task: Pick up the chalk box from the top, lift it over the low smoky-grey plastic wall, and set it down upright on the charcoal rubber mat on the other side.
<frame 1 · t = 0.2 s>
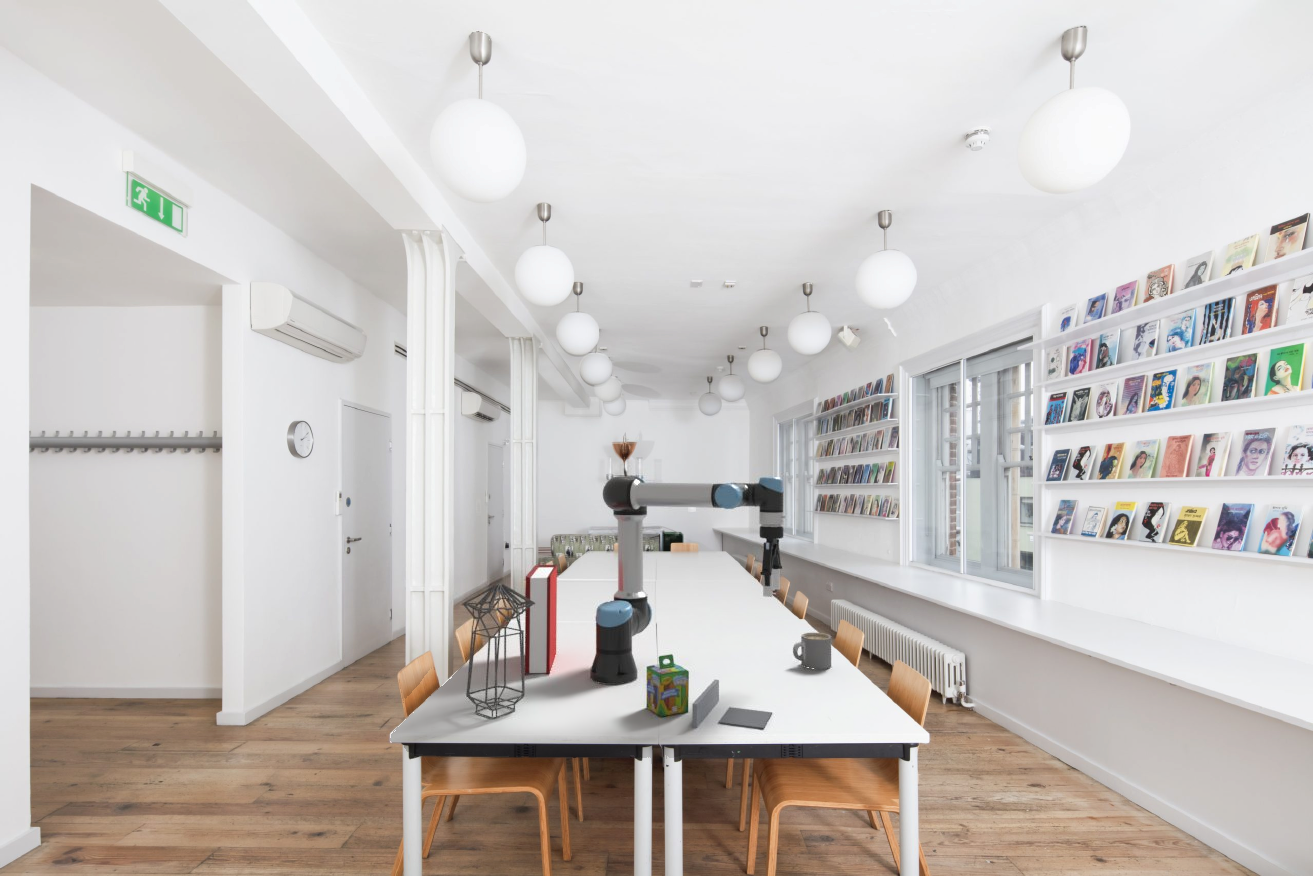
hand: (771, 592, 214), 28 cm above the table, tool pointing down, fingers open, 13 cm apart
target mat: (745, 718, 181), on the table
coffee mug: (811, 666, 231), on the table
low wall: (706, 713, 185), on the table
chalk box: (667, 710, 188), on the table
geometric lantern: (497, 711, 187), on the table
book: (541, 664, 233), on the table
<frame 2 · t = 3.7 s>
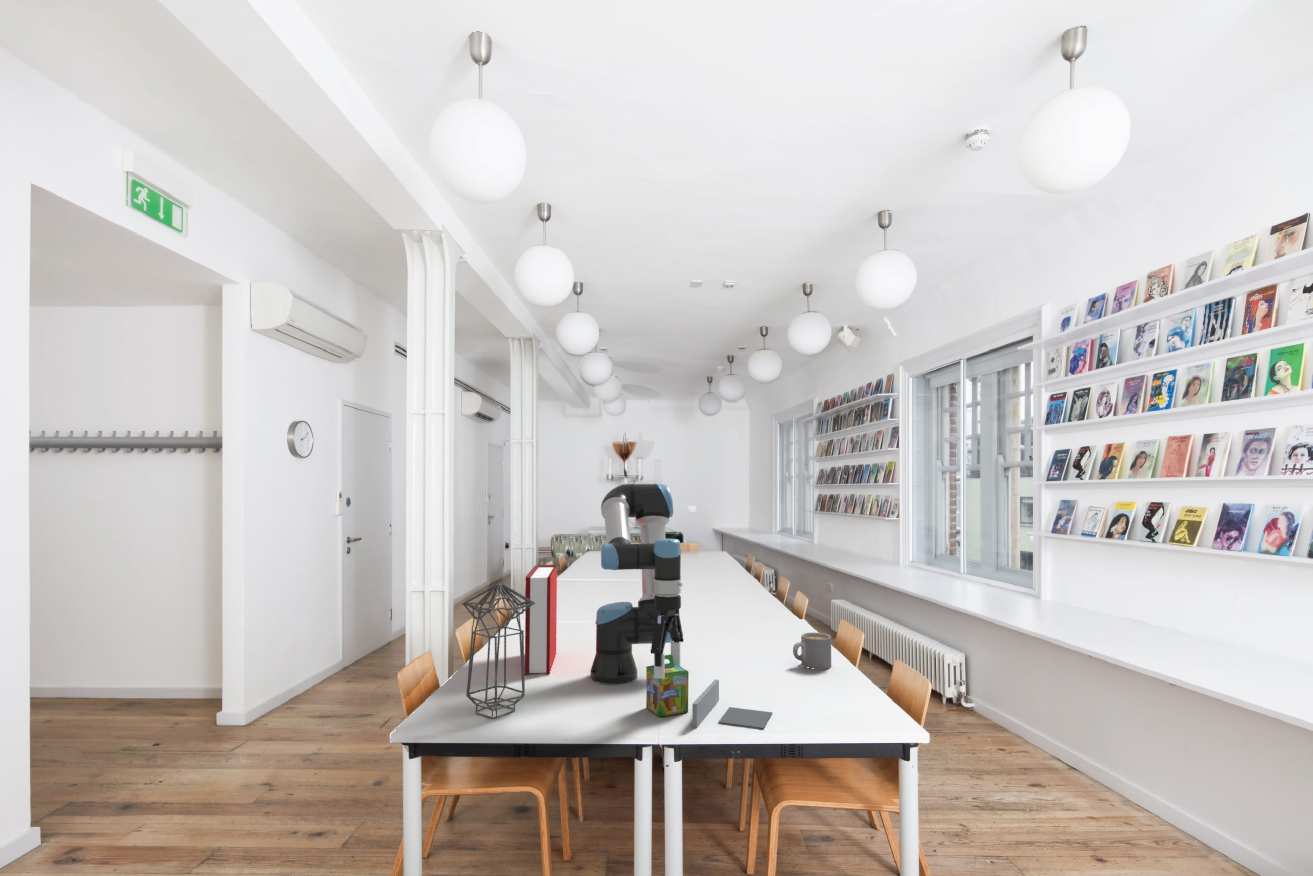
hand: (667, 672, 188), 11 cm above the table, tool pointing down, fingers open, 13 cm apart
nothing on the table moved.
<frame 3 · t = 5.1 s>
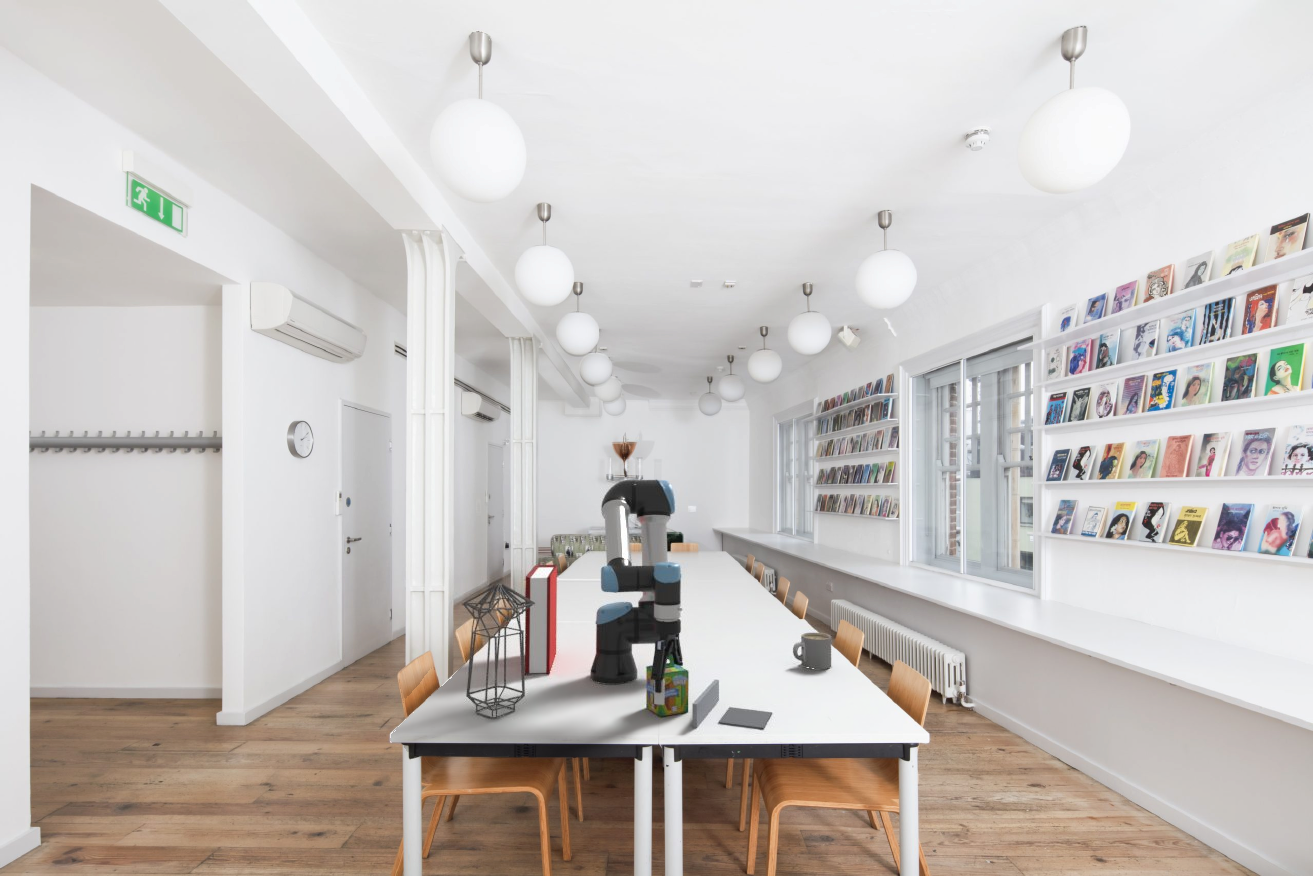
hand: (667, 696, 188), 4 cm above the table, tool pointing down, fingers closed on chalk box, 12 cm apart
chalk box: (667, 710, 188), on the table, touching gripper
everything else where it was.
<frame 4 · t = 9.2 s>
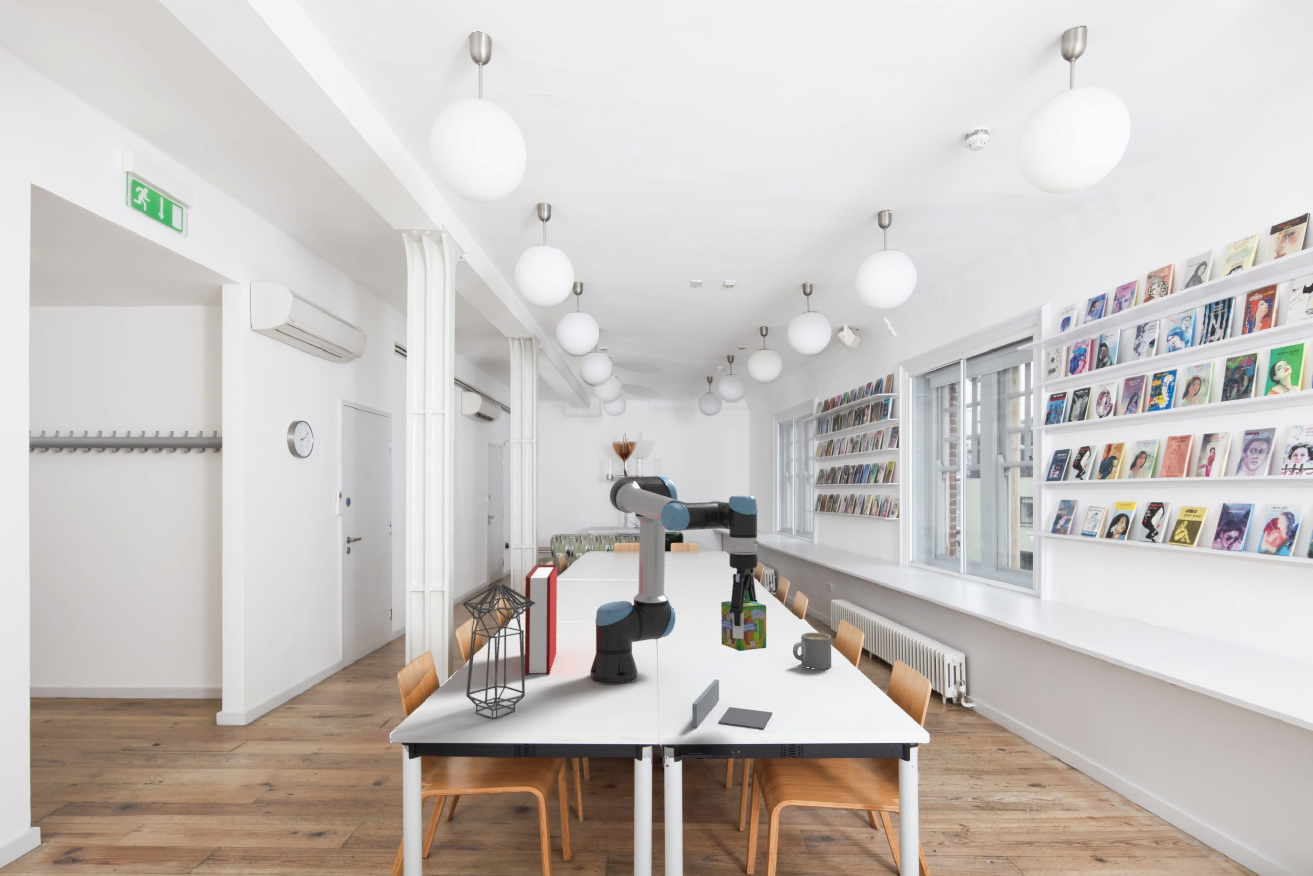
hand: (744, 632, 182), 23 cm above the table, tool pointing down, fingers closed on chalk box, 12 cm apart
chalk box: (743, 647, 182), point 19 cm above the table, touching gripper
everything else where it was.
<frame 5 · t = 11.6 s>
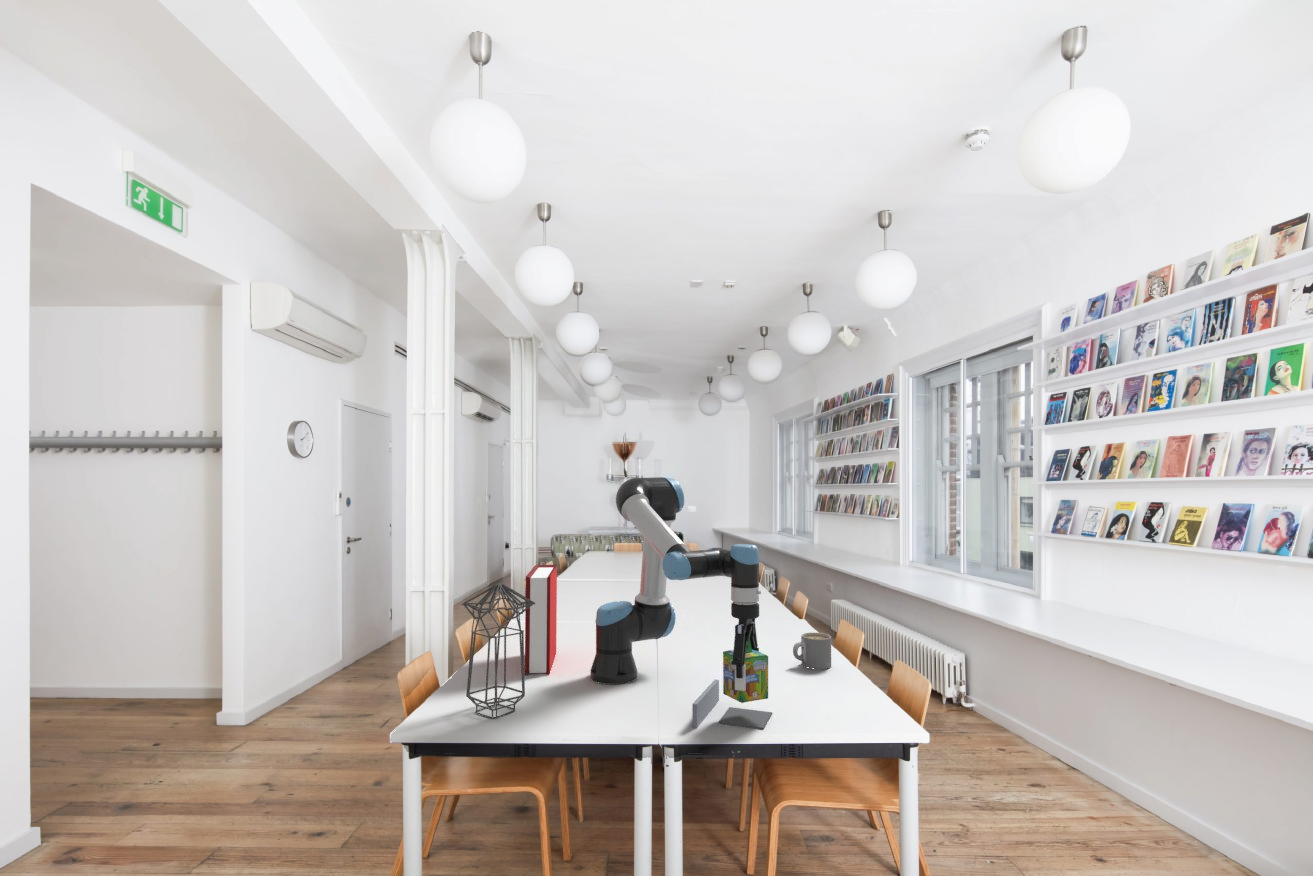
hand: (745, 682, 181), 9 cm above the table, tool pointing down, fingers closed on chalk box, 12 cm apart
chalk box: (745, 697, 181), point 6 cm above the table, touching gripper
everything else where it was.
when the fingers open (5 cm above the table, at t = 13.6 s): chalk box drops 1 cm, resting on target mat.
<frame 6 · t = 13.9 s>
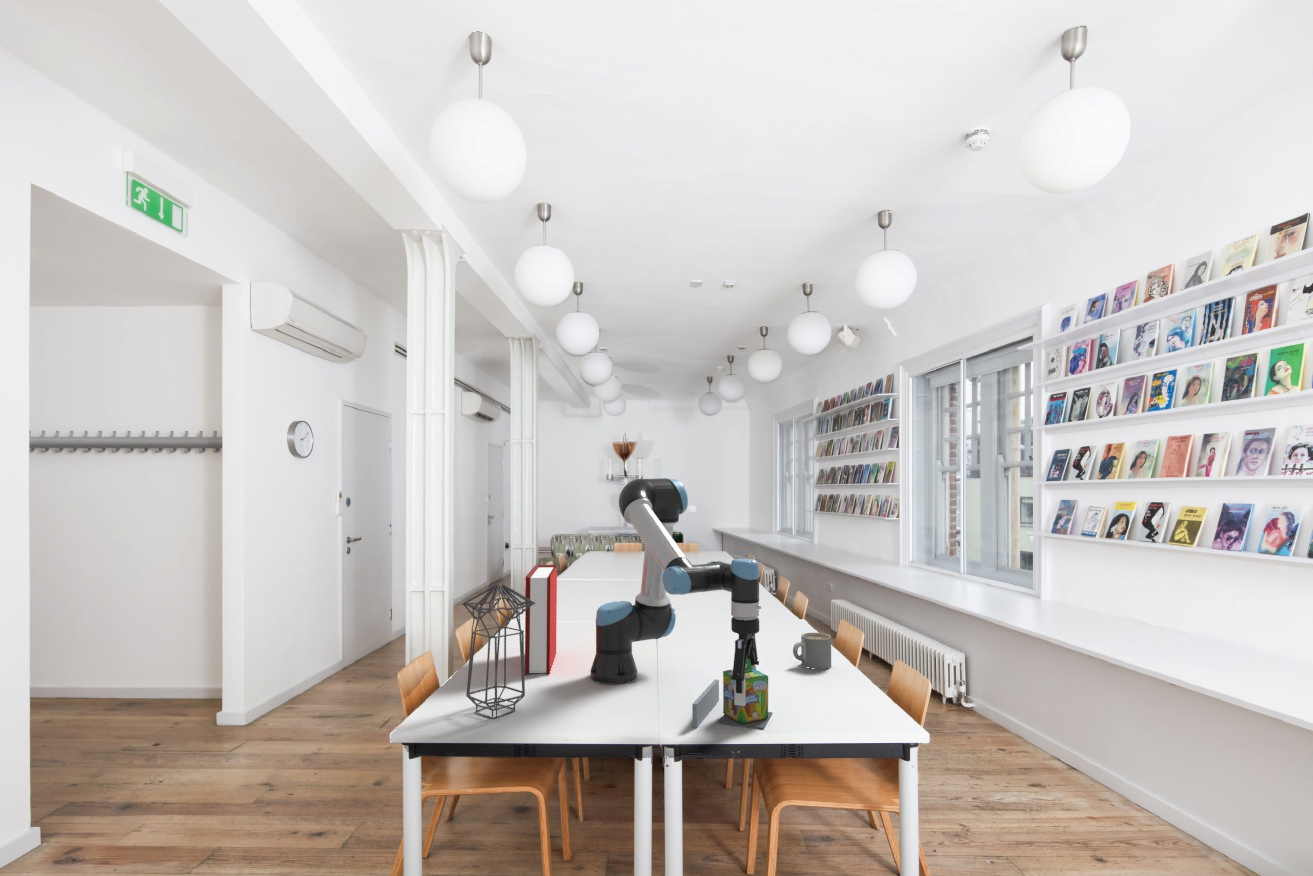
hand: (745, 697, 181), 6 cm above the table, tool pointing down, fingers open, 13 cm apart
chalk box: (745, 717, 181), resting on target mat, touching gripper
everything else where it was.
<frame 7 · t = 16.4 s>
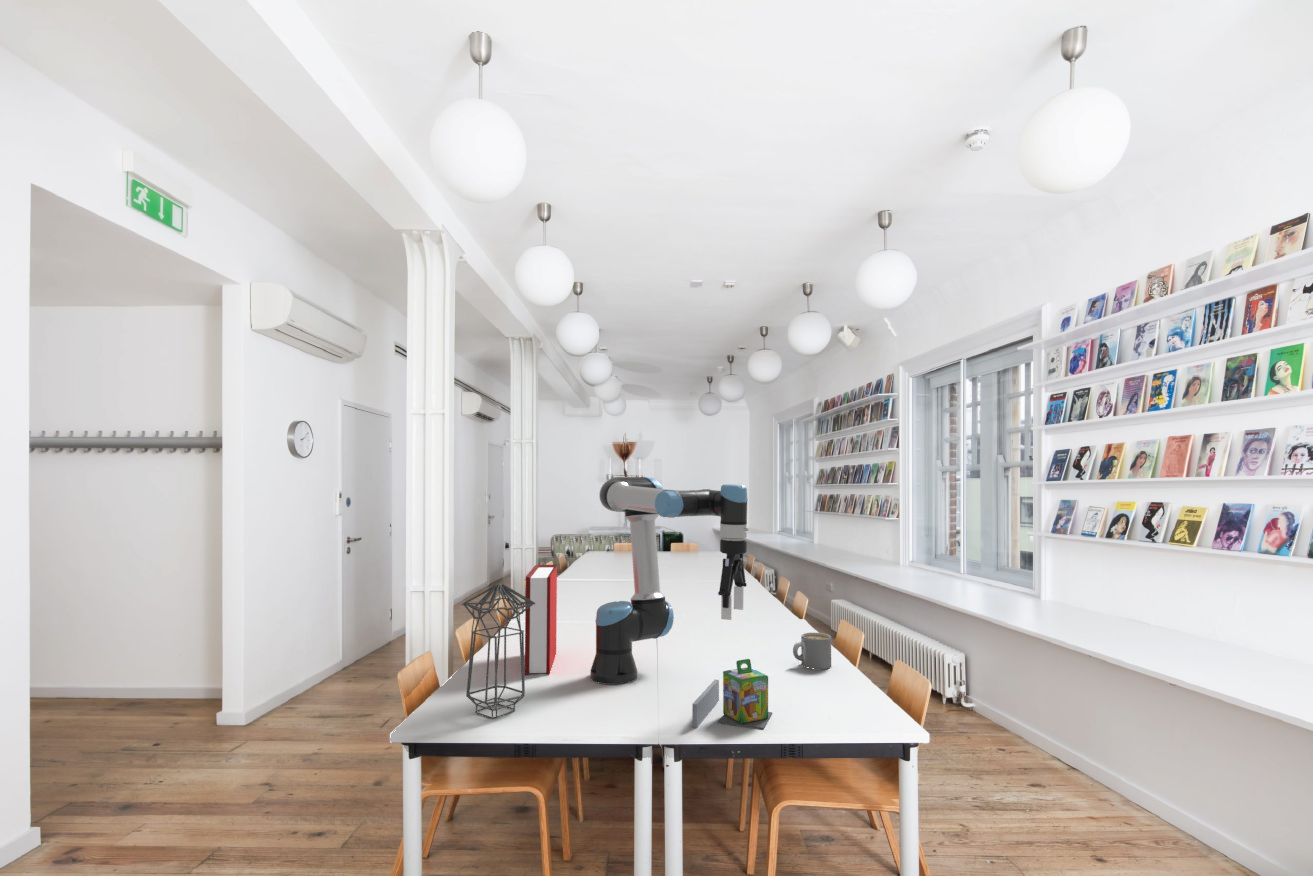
hand: (732, 614, 191), 26 cm above the table, tool pointing down, fingers open, 13 cm apart
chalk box: (745, 717, 181), resting on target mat
everything else where it was.
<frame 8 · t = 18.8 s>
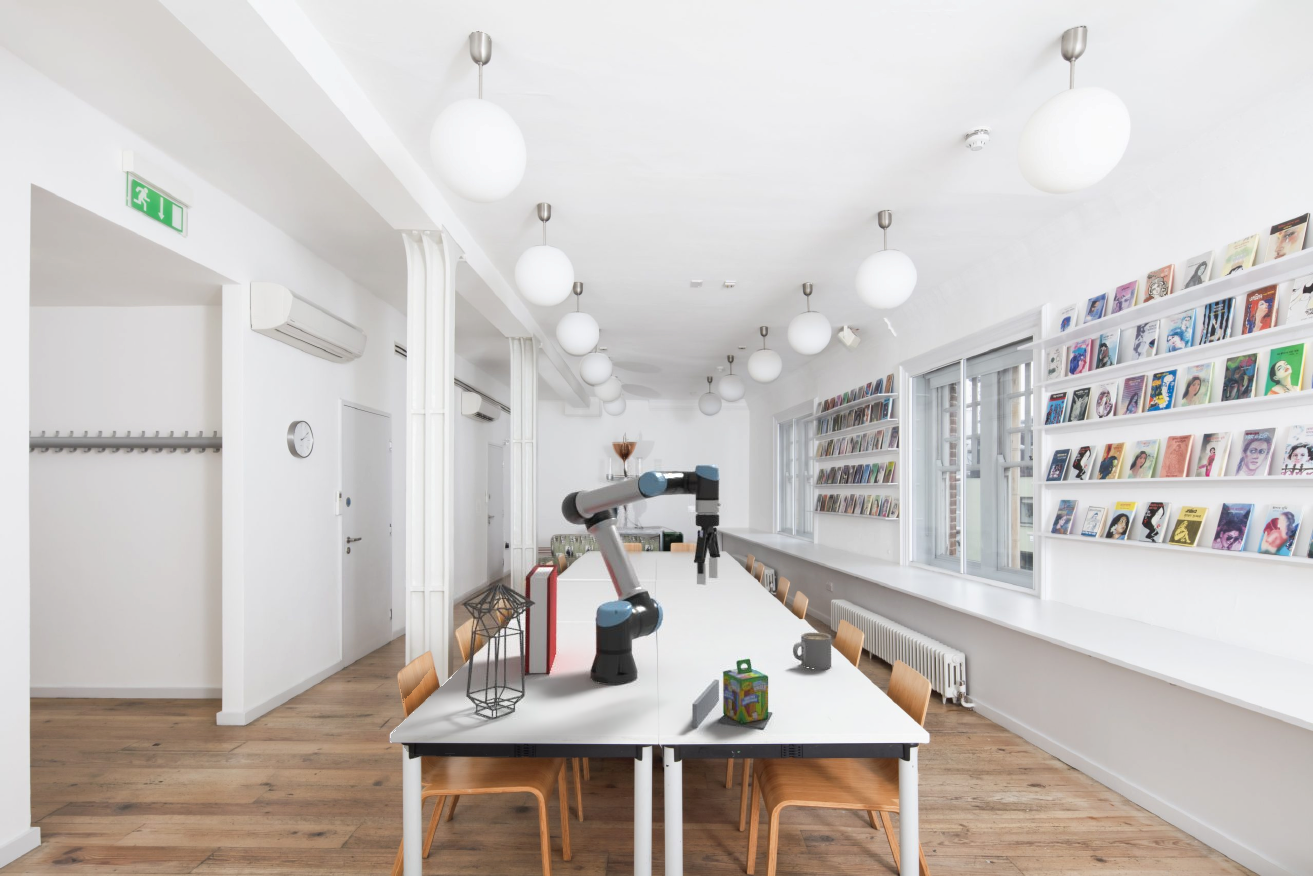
hand: (707, 581, 213), 32 cm above the table, tool pointing down, fingers open, 13 cm apart
nothing on the table moved.
at the end: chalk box inside the target area on the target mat (0.4 cm from its centre), point 0.2 cm above the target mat's base; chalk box tilted 0°; the gripper is holding nothing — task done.
